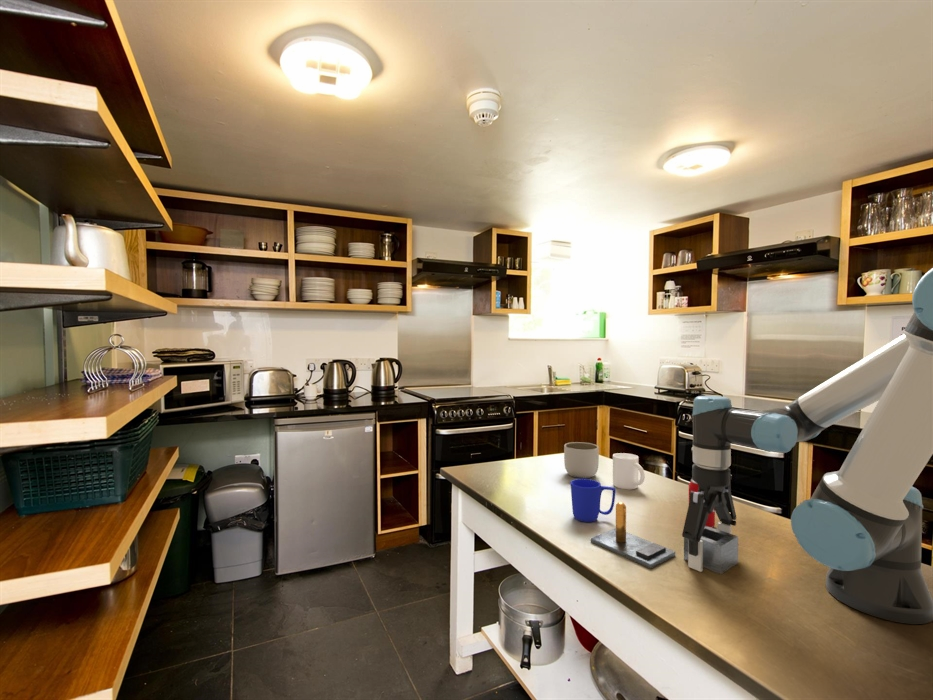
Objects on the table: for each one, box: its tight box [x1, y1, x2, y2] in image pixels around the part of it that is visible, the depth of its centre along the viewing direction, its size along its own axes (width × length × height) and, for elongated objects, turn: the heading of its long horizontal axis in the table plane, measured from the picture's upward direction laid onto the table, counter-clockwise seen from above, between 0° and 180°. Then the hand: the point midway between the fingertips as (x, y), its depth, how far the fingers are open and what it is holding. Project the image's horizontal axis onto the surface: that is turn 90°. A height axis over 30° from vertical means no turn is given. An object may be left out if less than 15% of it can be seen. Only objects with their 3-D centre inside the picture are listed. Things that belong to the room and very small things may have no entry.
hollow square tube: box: [683, 526, 739, 575], centre depth 100 cm, size 8×8×6 cm
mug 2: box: [612, 452, 646, 491], centre depth 151 cm, size 12×8×10 cm
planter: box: [563, 441, 600, 479], centre depth 165 cm, size 12×12×11 cm
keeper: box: [590, 501, 676, 570], centre depth 106 cm, size 16×10×10 cm, turn 36°
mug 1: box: [570, 478, 616, 523], centre depth 124 cm, size 8×12×10 cm
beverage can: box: [688, 478, 716, 528], centre depth 119 cm, size 6×6×12 cm
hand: (710, 560), depth 100 cm, fingers open, 12 cm apart
